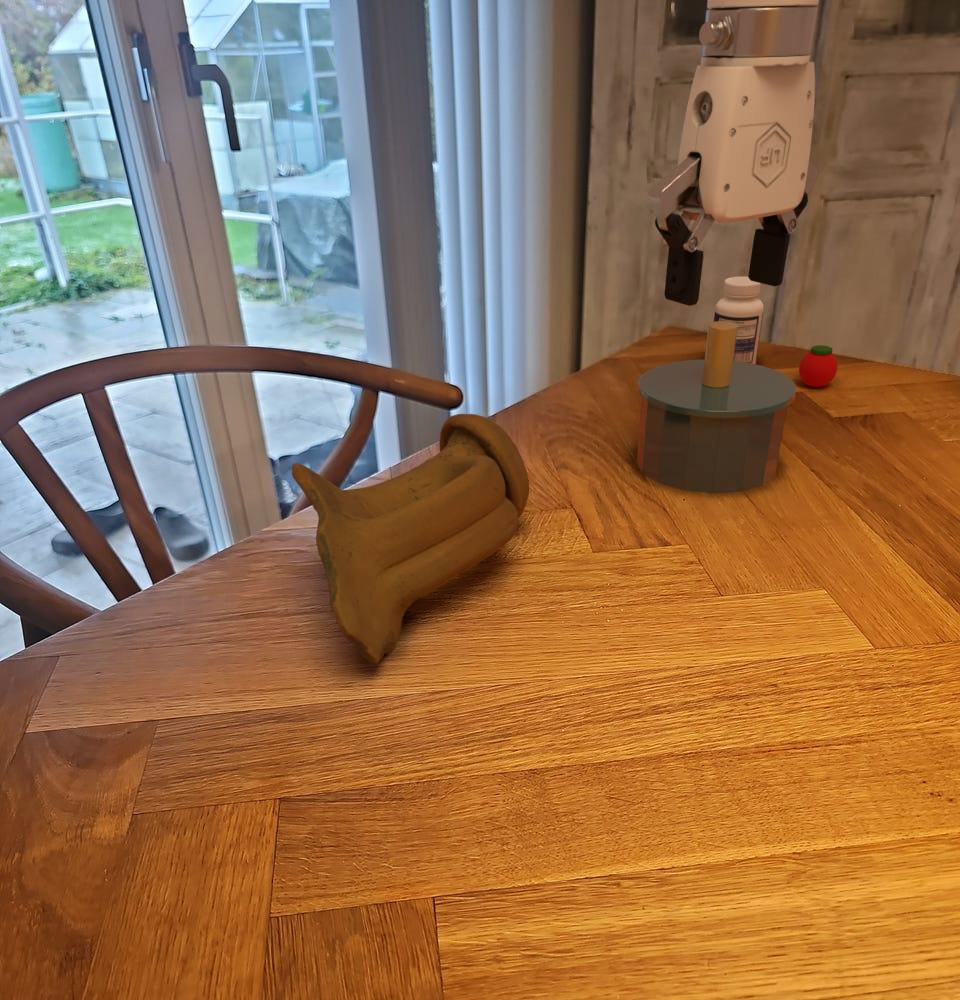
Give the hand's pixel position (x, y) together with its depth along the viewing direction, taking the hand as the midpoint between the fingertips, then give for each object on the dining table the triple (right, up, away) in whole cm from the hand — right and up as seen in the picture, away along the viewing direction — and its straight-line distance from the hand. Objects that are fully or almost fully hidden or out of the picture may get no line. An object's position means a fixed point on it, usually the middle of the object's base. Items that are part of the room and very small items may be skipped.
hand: (723, 292), depth 72 cm
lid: (+1, -7, +5) cm, 8 cm away
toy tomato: (+17, 0, +26) cm, 31 cm away
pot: (+1, -13, +9) cm, 16 cm away
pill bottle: (+10, +4, +32) cm, 34 cm away
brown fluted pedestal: (-25, -25, -6) cm, 35 cm away
